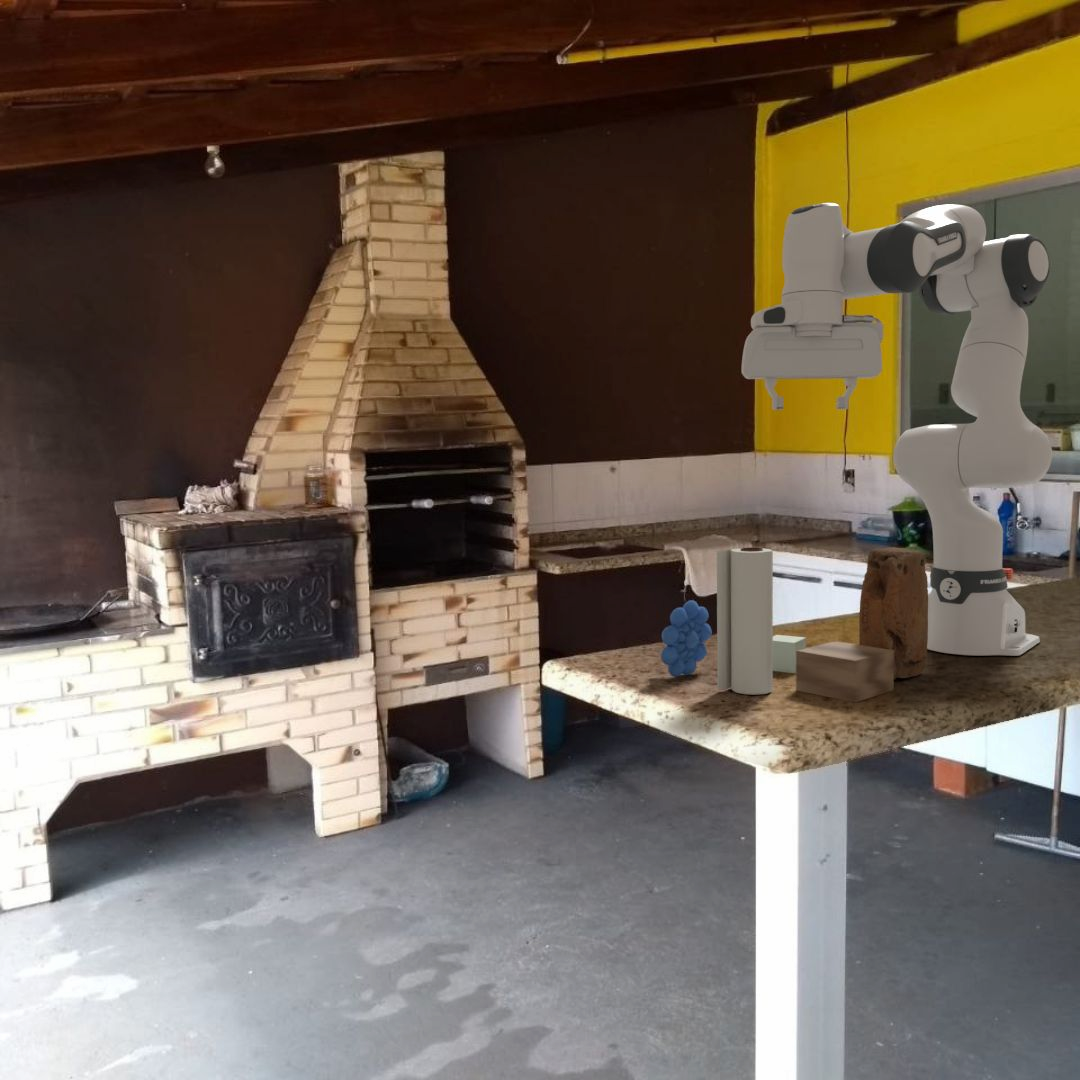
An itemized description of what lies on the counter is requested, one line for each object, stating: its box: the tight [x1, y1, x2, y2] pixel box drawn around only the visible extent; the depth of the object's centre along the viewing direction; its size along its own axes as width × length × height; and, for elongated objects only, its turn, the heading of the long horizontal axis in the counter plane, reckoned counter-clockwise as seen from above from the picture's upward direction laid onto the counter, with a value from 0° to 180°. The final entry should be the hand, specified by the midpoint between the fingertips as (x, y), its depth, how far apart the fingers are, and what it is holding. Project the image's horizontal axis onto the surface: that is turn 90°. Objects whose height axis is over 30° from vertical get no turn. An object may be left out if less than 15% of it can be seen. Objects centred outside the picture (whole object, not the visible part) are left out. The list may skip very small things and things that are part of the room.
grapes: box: [660, 599, 713, 678], centre depth 167 cm, size 12×7×12 cm, turn 134°
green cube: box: [773, 634, 807, 674], centre depth 171 cm, size 5×5×5 cm
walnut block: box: [795, 640, 894, 703], centre depth 155 cm, size 10×10×6 cm
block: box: [858, 546, 929, 680], centre depth 163 cm, size 11×8×20 cm
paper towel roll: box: [716, 547, 774, 696], centre depth 156 cm, size 7×6×21 cm
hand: (809, 409), depth 156 cm, fingers open, 8 cm apart
